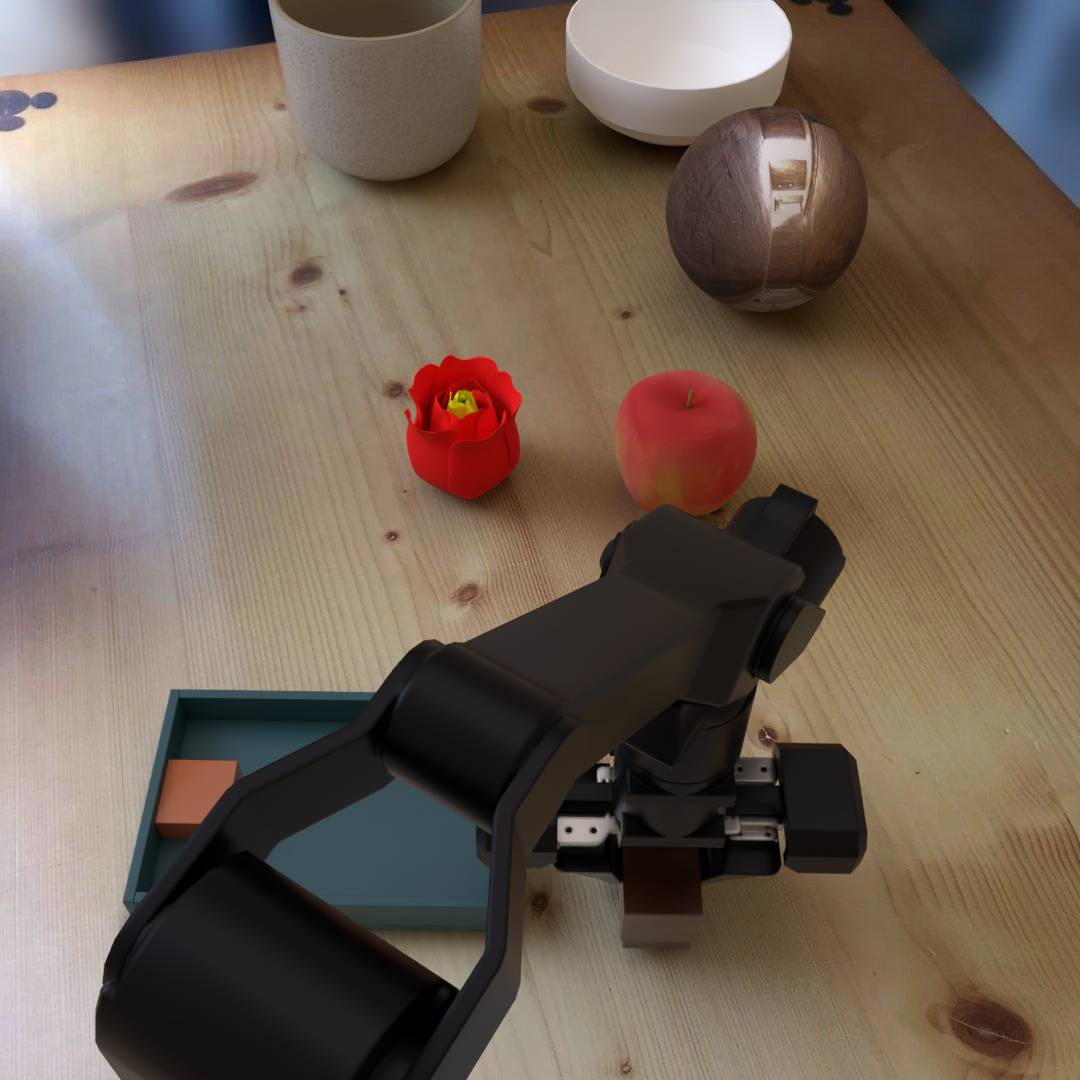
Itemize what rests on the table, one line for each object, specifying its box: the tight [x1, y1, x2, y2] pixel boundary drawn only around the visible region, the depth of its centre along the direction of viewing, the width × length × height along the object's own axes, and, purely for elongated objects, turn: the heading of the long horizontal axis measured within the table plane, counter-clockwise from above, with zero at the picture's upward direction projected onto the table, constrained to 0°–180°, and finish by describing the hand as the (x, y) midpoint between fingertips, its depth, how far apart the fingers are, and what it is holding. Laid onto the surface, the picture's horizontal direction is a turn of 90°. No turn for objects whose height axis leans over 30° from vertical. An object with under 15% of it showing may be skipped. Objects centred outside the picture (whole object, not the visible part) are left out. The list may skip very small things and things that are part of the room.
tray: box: [122, 688, 490, 932], centre depth 74 cm, size 20×13×3 cm, turn 89°
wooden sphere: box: [665, 105, 869, 313], centre depth 98 cm, size 15×15×15 cm
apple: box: [613, 369, 758, 517], centre depth 86 cm, size 10×10×10 cm
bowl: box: [565, 0, 793, 147], centre depth 116 cm, size 20×20×8 cm
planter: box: [267, 0, 483, 182], centre depth 110 cm, size 17×17×15 cm
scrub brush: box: [618, 834, 704, 950], centre depth 70 cm, size 4×8×5 cm, turn 179°
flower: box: [404, 354, 523, 500], centre depth 88 cm, size 8×8×8 cm
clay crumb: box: [154, 760, 243, 839], centre depth 74 cm, size 4×4×2 cm
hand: (655, 876), depth 71 cm, fingers closed on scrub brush, 4 cm apart
